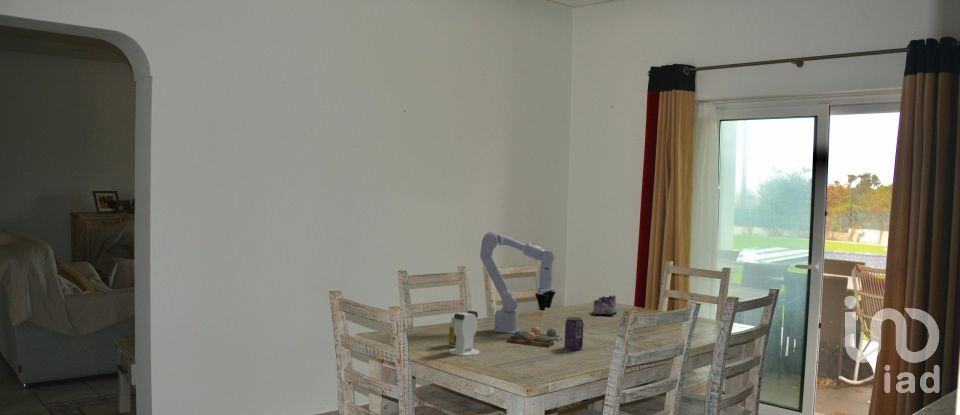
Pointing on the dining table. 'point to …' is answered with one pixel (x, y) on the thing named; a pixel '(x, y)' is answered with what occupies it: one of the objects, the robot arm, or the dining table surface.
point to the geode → (605, 305)
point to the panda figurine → (465, 333)
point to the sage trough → (545, 337)
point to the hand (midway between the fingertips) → (544, 309)
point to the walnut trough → (536, 342)
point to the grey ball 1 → (518, 335)
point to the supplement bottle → (452, 334)
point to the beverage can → (574, 333)
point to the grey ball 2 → (551, 333)
